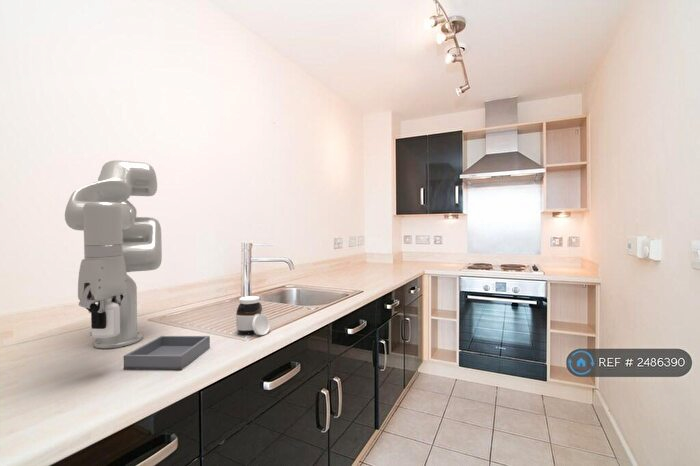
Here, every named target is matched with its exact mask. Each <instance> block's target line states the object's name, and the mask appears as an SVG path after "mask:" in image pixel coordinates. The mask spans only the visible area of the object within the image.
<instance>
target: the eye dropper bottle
mask: <svg viewBox="0 0 700 466" xmlns="http://www.w3.org/2000/svg"><path fill="white" fill-rule="evenodd" d="M111 301H112V297H110V298H107V299H105V300H104V311H103V312H106V328H104V329H92V328H91V332H92V336H91V337H93V338H95V339H97V338H109V337H114V336H116V335H118V334H119V333H120V309H119V305H118V304H117V303H114V302H111ZM95 304H96V305H97V306H98V303H95Z"/></svg>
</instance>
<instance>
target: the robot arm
mask: <svg viewBox="0 0 700 466" xmlns="http://www.w3.org/2000/svg"><path fill="white" fill-rule="evenodd" d="M157 191H158V179H157V174H156V171H155V169H154V167H153V166H152V165H151V164H149V163H147V162H140V161H132V160H131V161H129V160H118V159H117V160H115V159H114V160H109V161H107V162H106V163H104V164H103V166H102V167H101V170H100V173H99V175H98V179H97V181H94V182H92V183H89V184H86V185H83V186H82V187H79V188H77V189H76V190H74V192H73V191H72V194H70V197H69V199H68V201H67V204H66V207H65V211H64V220H65V223H66V225H67V226H68V227H69V228H71V230H75V231H83V249H84V250H83V253H84V258H82V259H81V262H80V265H79V270H78V277H77V279H78V281H77V299H78V300H79V302H78V306H79V307H81V308H84V309H87V310H88V313H89V314H90V315H91V316H90V318H91V319H90V320H91V321H90V322H91V330H92V329H104V328H106V312H103V311H104V300H105V299H107V298H110V297H112V301H111V302H114V303H117V304H118V305H119V309H120V333H119V334H118V335H116V336H114V337H109V338H96V340H94V342H93V347H94V348H96V349H103V350H104V349H106V350H107V349H116V348H121V347H125V346H129V345H133V344H135V343H137V342H141V340H143V339H144V334H143V332H140V331H138V296H137V295H138V291H137V290H138V287H137V284H136V282H135V281H134V279H133V278H132V277H131V276H130V275H128V273H131V272H133V273H135V272H148V271H154V270H157V269H158V268H159V267H161V264H162V258H163V254H162V253H163V251H162V249H163V248H162V228H161V224H160V222H159V220H158V219H156V218H154V217H146V216H137V212H138V211H137V208H136V207H135V206H134V204H132V202H130V201H129V200H128V199H130V197H133V196H135V197H153V196H155V195H156V193H157ZM96 304H98V306H97V305H96ZM89 337H92V331H90V332H89Z"/></svg>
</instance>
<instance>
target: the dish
mask: <svg viewBox="0 0 700 466" xmlns="http://www.w3.org/2000/svg"><path fill="white" fill-rule="evenodd" d="M210 348H211V337H210V335H160V336H157V337H156V338H154V339H152V340H151V341H148V342H147V343H145V344H143V345H141V346H139V347H137V348H135V349H134V350H132V351H130V352H128V353H126V354H125V355H123V370H130V371H132V370H133V371H134V370H140V371H145V370H146V371H150V370H151V371H182V370H183V369H185V368H186V367H187V366H188V365H190V364H191V363H192V362H194V361H196V359H197V358H198V357H200V356H201V355H203V354H204V353H205V352H206V351H207V350H209V349H210Z"/></svg>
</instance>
